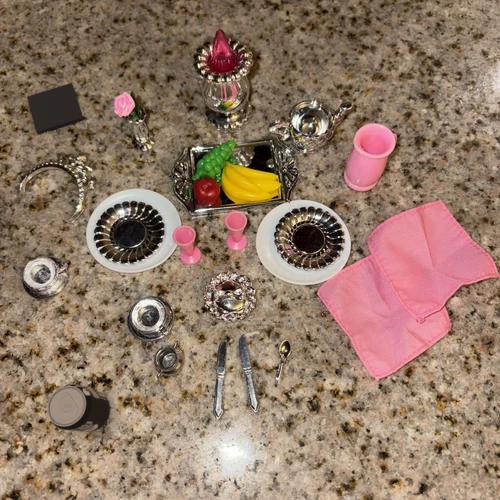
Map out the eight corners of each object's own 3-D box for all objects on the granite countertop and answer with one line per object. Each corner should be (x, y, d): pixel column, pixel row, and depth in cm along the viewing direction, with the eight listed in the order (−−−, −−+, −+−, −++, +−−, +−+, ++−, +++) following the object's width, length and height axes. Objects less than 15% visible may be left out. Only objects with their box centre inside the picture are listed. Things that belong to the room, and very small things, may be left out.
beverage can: (78, 438, 82) (49, 436, 71) (68, 400, 84) (39, 393, 73) (115, 422, 83) (93, 418, 71) (105, 385, 85) (82, 376, 74)
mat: (28, 99, 108) (26, 96, 107) (73, 85, 109) (71, 82, 108) (38, 134, 105) (36, 132, 104) (83, 120, 106) (82, 117, 105)
